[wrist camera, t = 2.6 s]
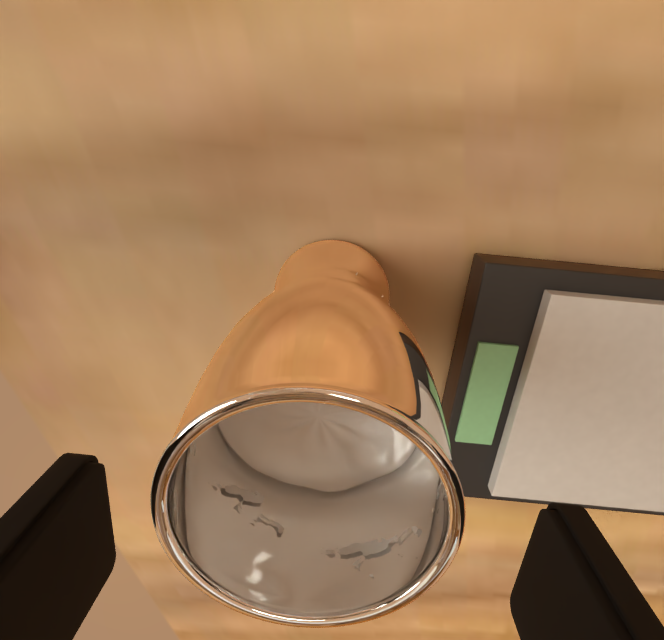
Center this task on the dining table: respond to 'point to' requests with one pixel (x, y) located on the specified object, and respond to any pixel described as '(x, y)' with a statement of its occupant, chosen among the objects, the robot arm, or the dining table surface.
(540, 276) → the scale
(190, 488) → the beer glass
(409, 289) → the dining table surface
